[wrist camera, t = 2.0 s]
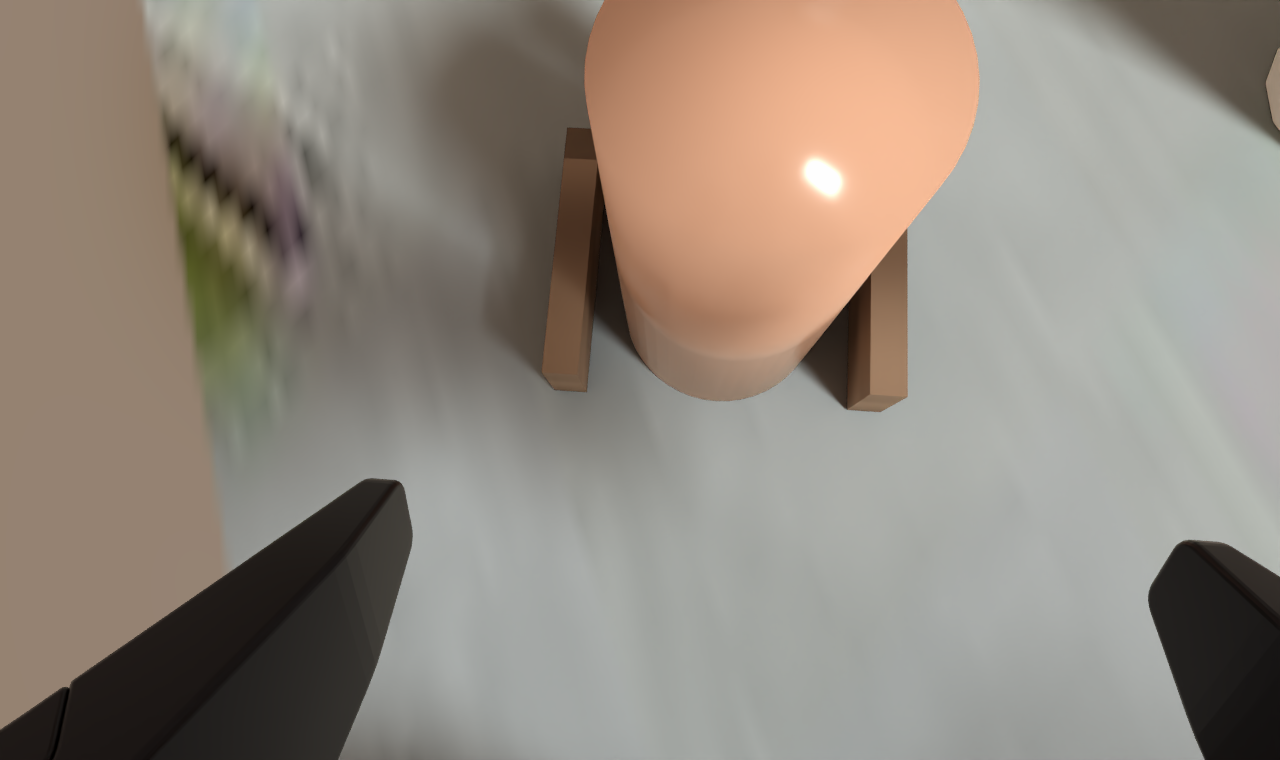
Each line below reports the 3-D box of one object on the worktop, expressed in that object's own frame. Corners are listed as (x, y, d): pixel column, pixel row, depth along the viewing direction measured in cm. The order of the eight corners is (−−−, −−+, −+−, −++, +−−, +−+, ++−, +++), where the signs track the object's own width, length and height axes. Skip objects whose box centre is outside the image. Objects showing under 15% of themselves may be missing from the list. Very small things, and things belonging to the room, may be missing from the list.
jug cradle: (880, 412, 22) (907, 397, 19) (554, 389, 22) (541, 372, 20) (881, 185, 23) (906, 145, 21) (577, 169, 24) (567, 127, 21)
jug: (813, 407, 22) (983, 267, 10) (618, 394, 22) (566, 242, 11) (820, 154, 24) (973, -216, 12) (639, 145, 24) (614, -225, 12)
